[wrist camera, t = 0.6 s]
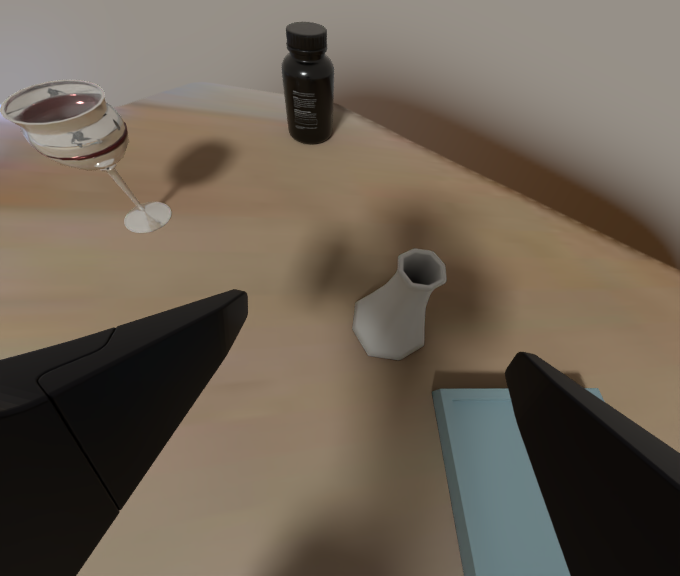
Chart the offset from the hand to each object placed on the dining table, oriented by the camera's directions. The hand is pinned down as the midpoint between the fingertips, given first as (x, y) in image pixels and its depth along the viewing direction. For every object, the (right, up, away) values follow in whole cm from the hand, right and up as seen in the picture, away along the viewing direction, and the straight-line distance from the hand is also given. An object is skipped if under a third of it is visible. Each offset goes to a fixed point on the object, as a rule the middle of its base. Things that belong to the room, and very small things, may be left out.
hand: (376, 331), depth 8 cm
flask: (+4, -2, +17) cm, 17 cm away
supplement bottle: (-6, +26, +32) cm, 41 cm away
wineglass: (-24, +10, +21) cm, 33 cm away
